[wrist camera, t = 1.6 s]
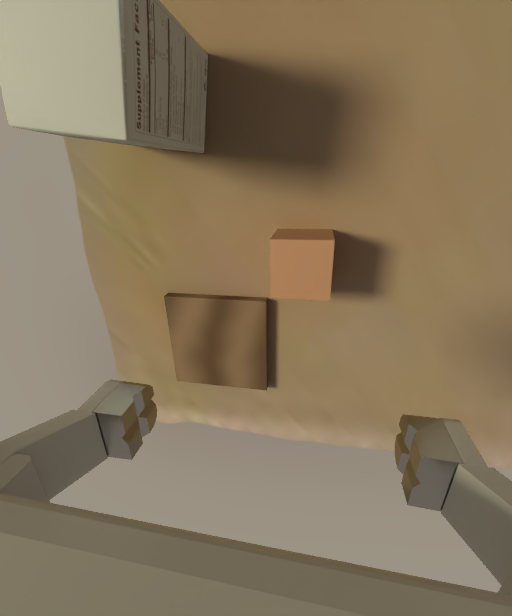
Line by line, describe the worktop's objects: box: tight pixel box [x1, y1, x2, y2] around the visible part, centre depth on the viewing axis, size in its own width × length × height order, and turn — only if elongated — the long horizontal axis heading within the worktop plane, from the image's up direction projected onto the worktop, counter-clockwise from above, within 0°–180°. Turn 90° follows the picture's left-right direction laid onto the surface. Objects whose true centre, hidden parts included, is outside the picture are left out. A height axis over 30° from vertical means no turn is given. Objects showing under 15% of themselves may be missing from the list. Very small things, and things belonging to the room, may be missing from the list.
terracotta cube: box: [270, 229, 335, 301], centre depth 27 cm, size 5×5×5 cm
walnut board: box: [164, 293, 268, 390], centre depth 34 cm, size 11×11×1 cm
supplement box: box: [0, 0, 208, 153], centre depth 21 cm, size 7×7×13 cm
